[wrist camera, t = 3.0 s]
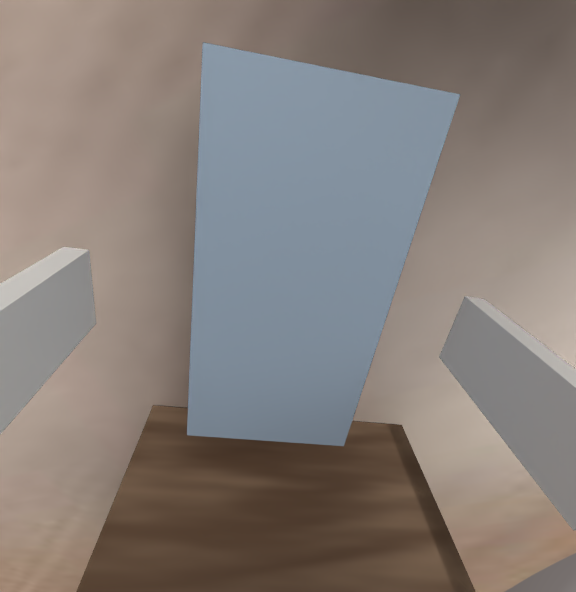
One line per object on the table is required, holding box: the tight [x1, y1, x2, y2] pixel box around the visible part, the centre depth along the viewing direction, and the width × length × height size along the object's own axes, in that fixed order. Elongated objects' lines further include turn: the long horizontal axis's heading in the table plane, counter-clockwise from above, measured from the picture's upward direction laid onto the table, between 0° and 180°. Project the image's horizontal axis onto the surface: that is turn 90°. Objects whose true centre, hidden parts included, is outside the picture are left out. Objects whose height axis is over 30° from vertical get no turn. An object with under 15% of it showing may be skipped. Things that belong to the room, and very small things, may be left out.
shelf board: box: [187, 42, 460, 446], centre depth 13 cm, size 14×7×2 cm, turn 171°
